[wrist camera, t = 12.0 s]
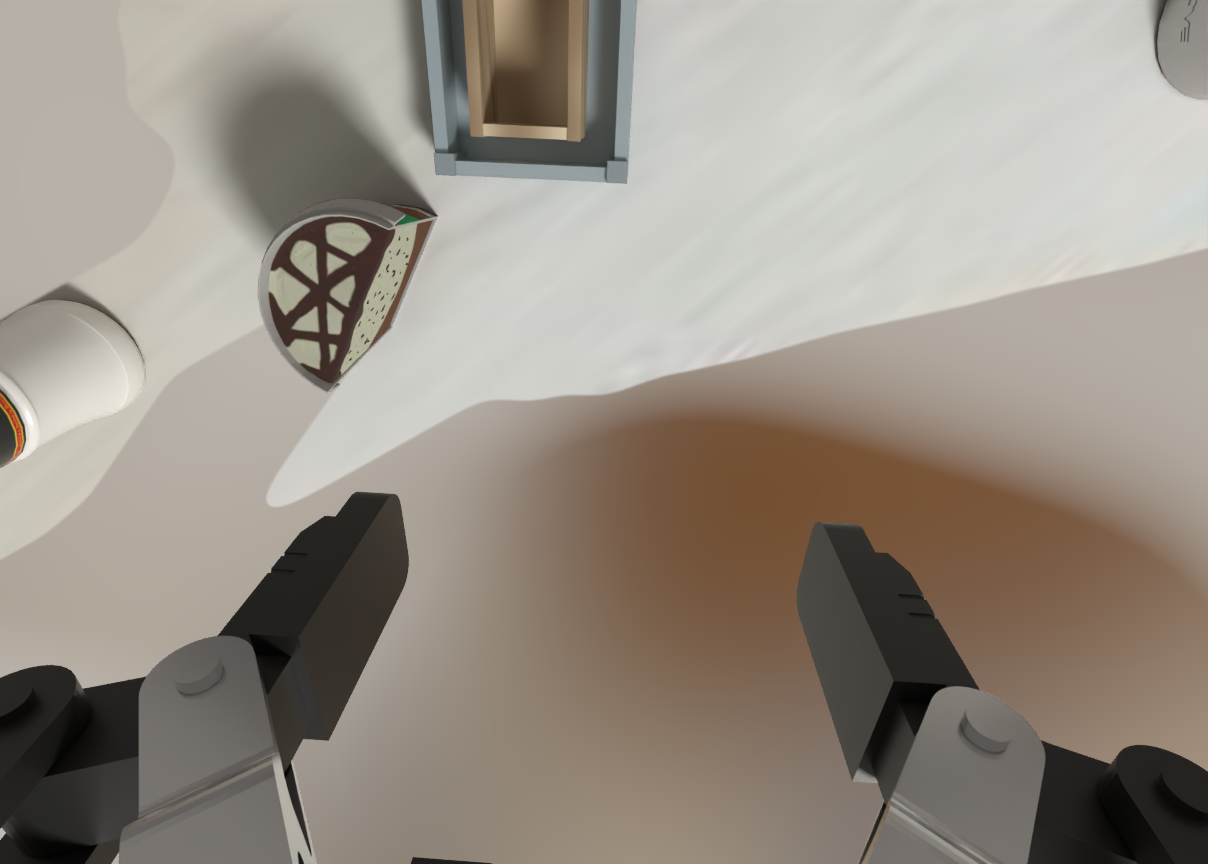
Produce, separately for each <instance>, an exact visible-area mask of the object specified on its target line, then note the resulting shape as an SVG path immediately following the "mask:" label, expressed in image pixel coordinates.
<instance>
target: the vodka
mask: <svg viewBox="0 0 1208 864" xmlns="http://www.w3.org/2000/svg"><path fill="white" fill-rule="evenodd" d="M145 376H146V374H145V366H144V362H143V359H142V356H141V354H140V352H139V350H138V348H137V346H136V345H135V343H134V341H133V340H132V339H131V337H130V336H129V335H128V334H127V333H126V331H125V330H124V329H123V328H122V327H121V326H120V325H118V324H117V323H116V322H115V321H114V320H112V319H111V318H110V317H108V316H107V315H105V314H103V313H102V312H100V311H98V310H96V309H94V308H92V307H90V306H87V305H84V304H81V303H77V302H72V301H64V300H46V301H42V302H38V303H35V304H32V305H29V306H27V307H24V308H22V309H20V310H18V311H16V312H14V313H13V314H12V315H11V316H10V317H9V318H7V319H5V320H3V321H1V322H0V468H2V467H3V466H5V465H7V464H9V463H10V462H15V461H19V460H22V459H24V458H26V457H28V456H29V455H30V454H31V453H33V451H34V450H35V449H37V448H38V447H40V446H41V445H43V444H45V443H46V442H48V441H50V440H51V439H53V438H55V437H57V436H59V435H61V434H63V433H65V432H67V431H69V430H71V429H73V428H76V427H78V426H81V425H83V424H85V423H88V422H90V421H92V420H95V419H97V418H104V417H107V416H110V415H112V414H114V413H117V412H119V411H121V410H123V409H124V408H126V407H128V406H130V405H131V404H132V403H134V402H135V400H136V399H137V398H138V396H139V395H140V393H141V391H142V389H143V386H144V383H145Z"/></svg>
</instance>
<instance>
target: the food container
mask: <svg viewBox="0 0 1208 864" xmlns="http://www.w3.org/2000/svg"><path fill="white" fill-rule="evenodd" d="M437 217H438V216H437V215H435V214H433V213H430V212H428V211H426V210H424V209H422V208H416V207H411V206H405V205H391V206H387V205H384V204H380V203H377V202H374V201H369V200H362V199H355V198H352V199H334V200H329V201H324V202H321V203H318V204H316V205H313V206H311V207H308V208H306V209H305V210H303V211H302V212H300V213H299V214H297V215H296V216H295V217H293V218H292V219H291V220H290V221H289V222H288V223H287V224H286V225H285V226H284V227H283V228H282V229H281V230H280V231H279V232H278V233H277V234H276V235H275V237H274V238H273V240H272V242H271V243H270V245H269V246H268V248H267V250H266V253H265V255H264V258H263V260H262V265H261V268H260V273H259V279H258V300H259V306H260V312H261V315H262V318H263V322H264V325H265V327H266V329H267V331H268V333H269V336H270V338H271V340H272V342H273V343H274V345H275V346H276V348H277V349H278V351H279V352H280V354H281V355H282V356H283V357H284V359H285V360H286V361H287V362H288V363H289V364H290V366H291V367H292V368H293V369H295V371H296V372H298V373H299V374H300V375H301V376H302V377H303V378H305V379H306V380H307V381H309V382H310V383H311V384H313V385H314V386H315V387H317V388H319V389H321V390H323V391H324V392H326V393H328V392H329V391H330V392H331V391H333V390H334V389H336V388H337V387H339V385H340V384H338V382H339V381H340V380H341V379H342V378H343V377H344V376H345V375H346V374H347V373H348V372H349V371H350V370H351V369H352V368H353V367H354V366H355V365H356V364H357V363H358V362H359V361H360V360H361V359H362V358H363V357H364V356H365V354H366V353H367V352H368V351H369V350H370V349H371V348H372V347H373V346H374V345H375V344H376V343H377V342H378V341H379V340H380V339H381V338H382V337H383V336H384V335H385V334H386V333H387V332H388V331H389V330H390V329H391V328H392V326H393V323H394V321H395V318H396V316H397V314H398V311H399V309H400V306H401V304H402V302H403V299H404V297H405V294H406V292H407V289H408V287H409V285H410V282H411V280H412V277H413V275H414V273H415V270H416V268H417V265H418V263H419V260H420V258H421V256H422V253H423V251H424V248H425V246H426V244H427V241H428V239H429V236H430V234H431V231H432V229H433V227H434V224H435V222H436V219H437Z"/></svg>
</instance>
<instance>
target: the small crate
mask: <svg viewBox="0 0 1208 864" xmlns="http://www.w3.org/2000/svg"><path fill="white" fill-rule="evenodd" d="M462 2H463V18H464V35H465V51H466V68H467V84H468V101H469V117H470V134H471V136H473V137H486V136H496V137H517V138H537V139H558V140H567V141H577V142H580V141H581V139H583V138H585V137H586V118H587V76H588V34H589V0H462Z"/></svg>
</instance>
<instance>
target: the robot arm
mask: <svg viewBox="0 0 1208 864" xmlns="http://www.w3.org/2000/svg"><path fill="white" fill-rule="evenodd" d="M1157 47H1158V59H1159V63H1160V66H1161V68H1162V71H1163V74H1164V76H1165V77H1166V79H1167V80H1168V81H1169V83H1170V84H1171V85H1172V87H1174V88H1175V89H1177V90H1178V91H1179V92H1181V93H1182V94H1184V95H1186V96H1189V97H1193V98H1196V99H1199V100H1208V0H1167V2H1166V5H1165V8H1164V11H1163V14H1162V17H1161V21H1160V24H1159V32H1158V40H1157ZM408 557H409V556H408V549H407V542H406V536H405V529H404V523H403V516H402V510H401V504H400V500H399V498H398V496H397V495H395V494H385V493H369V492H355V493H354V494H352V495H351V497H350V498H349V499H348V501H347V502H346V503H345V505H344V506H343V507H342V509H341V510H340V511H339V513H338V514H337V515H336V517H331V516H324V517H323V518H321V519H320V520H318V521H317V522H315V523H314V524H312V525H311V526H309V527H308V528H306V529H305V530H303V531H302V532H300V534H299V535H298V536H297V538H296V539H295V540H294V541H293V542H292V544H291V545H290V546H289V547H288V549H287V550H286V551H285V555H284V556H281V557H280V559H279V560H278V561H277V562H276V564H275V565H274V566H273V567H272V569H271V573H268V574H267V575H266V576H265V577H264V579H263V580H262V581H261V582H260V584H259V585H258V586H257V587H256V589H255V590H254V591H253V592H252V594H251V595H250V596H249V597H248V599H247V600H246V601H245V602H244V603H243V605H242V606H241V607H240V609H239V610H238V611H237V612H236V613H235V615H234V616H233V617H232V618H231V620H230V621H229V622H228V623H227V625H226V626H225V627H224V629H223V630H222V631H221V633H219V635H218V636H214V637H210V638H205V639H202V640H198V641H195V642H193V643H190V644H188V645H186V646H184V647H182V648H180V649H178V650H176V651H175V652H173V653H172V654H170V655H168V656H167V657H166V658H165V659H163V660H162V661H161V662H159V664H157V665H156V666H155V668H153V669H152V670H151V672H150V673H149V674H148V675H147V677H143V678H137V679H133V680H127V681H121V682H116V683H111V684H106V685H101V686H95V687H90V688H85V689H82V687H81V685H80V683H79V682H78V680H77V678H76V677H75V675H74V674H73V673H72V671H71V670H69V669H67V668H65V667H62V666H55V665H45V666H37V667H31V668H27V669H23V670H20V671H17V672H14V673H11V674H9V675H6V676H4V677H2V678H0V828H1V827H2V828H3V829H4V831H5V832H6V834H5V835H4V836H3V838H2V839H1V840H0V864H111V863H112V862H113V860H114V858H115V857H116V855H117V854H118V852H119V864H317V862H316V858H315V853H314V849H313V845H312V840H311V836H310V832H309V827H308V823H307V819H306V814H305V810H304V806H303V801H302V797H301V793H300V788H299V784H298V780H297V775H296V771H295V767H294V764H293V761H292V759H293V757H294V755H295V753H296V751H297V749H298V747H299V746H300V744H301V742H302V740H303V739H315V740H329V739H330V737H331V735H332V732H333V731H334V729H335V727H336V724H337V722H338V720H339V718H340V716H341V714H342V712H343V710H344V708H345V706H346V704H347V702H348V700H349V698H350V696H351V694H352V692H353V690H354V688H355V686H356V684H357V682H358V680H359V678H360V675H361V674H362V671H363V669H364V667H365V665H366V663H367V661H368V659H369V657H370V655H371V653H372V651H373V649H374V647H375V645H376V643H377V641H378V639H379V637H380V635H381V633H382V631H383V629H384V627H385V625H386V623H387V621H388V619H389V616H390V614H391V612H392V610H393V608H394V606H395V604H396V602H397V600H398V598H399V596H400V594H401V592H402V590H403V588H404V585H405V582H406V578H407V573H408V566H409V558H408ZM797 605H798V612H799V616H800V619H801V623H802V626H803V629H804V632H805V635H806V638H807V641H808V645H809V647H810V651H811V654H812V657H813V660H814V663H815V666H816V669H817V672H818V676H819V679H820V682H821V685H822V688H823V691H824V694H825V698H826V701H827V704H828V707H829V710H830V713H831V716H832V719H833V722H834V725H835V729H836V732H837V735H838V738H839V741H840V744H841V747H842V750H843V753H844V757H845V760H846V763H847V766H848V769H849V772H850V775H851V778H852V781H856V782H869V783H878V785H879V787H880V790H881V793H882V796H883V798H884V802H883V804H882V806H881V808H880V811H879V813H878V816H877V818H876V820H875V823H874V825H873V828H872V830H871V832H870V835H869V837H868V840H867V842H866V845H865V847H864V849H863V852H862V854H861V857H860V859H859V862H858V864H1208V772H1207V771H1206V770H1205V769H1203V768H1201V767H1200V766H1198V765H1197V764H1195V763H1193V762H1191V761H1190V760H1188V759H1185V758H1183V757H1182V756H1180V755H1177V754H1175V753H1172V752H1170V751H1167V750H1164V749H1161V748H1157V747H1152V746H1147V745H1134V746H1129V747H1127V748H1124V749H1123V750H1122V751H1121V752H1119V754H1118V755H1117V756H1116V758H1115V759H1114V761H1113V762H1112V763H1111V764H1108V763H1105V762H1103V761H1100V760H1096V759H1094V758H1091V757H1088V756H1085V755H1082V754H1078V753H1076V752H1073V751H1069V750H1067V749H1064V748H1061V747H1058V746H1055V745H1052V744H1049V743H1047V742H1044V741H1042V740H1040V738H1039V736H1038V735H1037V733H1036V731H1035V730H1034V729H1033V728H1032V726H1031V725H1030V724H1029V723H1028V722H1027V721H1026V720H1025V718H1024V717H1023V716H1022V715H1020V714H1019V713H1018V712H1017V711H1016V710H1015V709H1013V708H1012V707H1010V706H1009V705H1008V704H1006V703H1005V702H1003V701H1001V700H1000V699H998V698H996V697H994V696H992V695H990V694H988V693H986V692H982V691H980V690H979V688H978V686H977V685H976V683H975V681H974V680H973V678H972V676H971V674H970V673H969V671H968V669H967V668H966V666H965V664H964V663H963V661H962V659H961V658H960V656H959V654H958V653H957V651H956V649H955V647H954V646H953V644H952V642H951V641H950V639H949V637H948V636H947V634H946V632H945V631H944V629H943V627H942V625H941V624H940V622H939V621H938V619H935V614H934V612H933V610H932V609H931V607H930V605H929V604H928V602H927V600H924V595H923V593H922V592H921V590H920V589H919V587H918V585H917V583H916V582H915V580H914V578H913V577H912V575H911V573H910V572H909V571H907V570H906V569H905V568H904V567H903V566H902V565H901V564H899V563H898V562H897V561H896V560H895V559H894V558H893V557H892V556H890V555H889V554H888V553H876V552H875V551H874V549H873V547H872V545H871V543H870V541H869V540H868V538H867V536H866V534H865V532H864V530H863V529H862V527H861V526H860V525H857V524H843V523H827V522H817V523H816V524H815V526H814V527H813V529H812V532H811V536H810V540H809V544H808V548H807V552H806V555H805V559H804V563H803V567H802V570H801V574H800V578H799V582H798V588H797ZM411 864H491V863H481V862H468V861H455V860H441V859H429V858H416V857H413V859H412V862H411Z"/></svg>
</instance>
